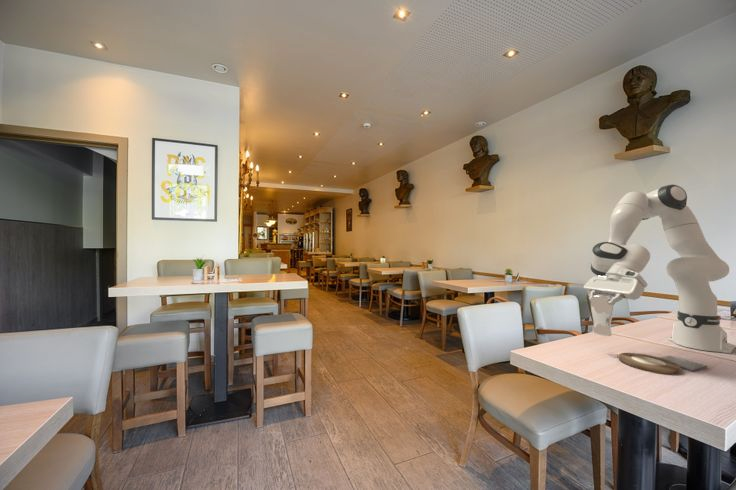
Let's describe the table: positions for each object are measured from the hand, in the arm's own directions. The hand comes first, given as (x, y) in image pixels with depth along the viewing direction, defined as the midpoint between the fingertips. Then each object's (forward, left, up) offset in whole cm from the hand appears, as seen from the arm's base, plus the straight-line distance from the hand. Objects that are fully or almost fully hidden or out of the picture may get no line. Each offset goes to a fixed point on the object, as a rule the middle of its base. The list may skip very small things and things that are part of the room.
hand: (600, 302), depth 116 cm
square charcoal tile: (-16, +17, -21) cm, 31 cm away
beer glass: (-1, 0, -13) cm, 13 cm away
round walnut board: (-4, +13, -21) cm, 25 cm away
